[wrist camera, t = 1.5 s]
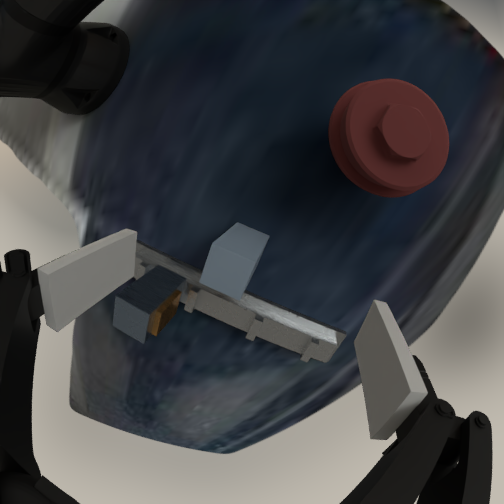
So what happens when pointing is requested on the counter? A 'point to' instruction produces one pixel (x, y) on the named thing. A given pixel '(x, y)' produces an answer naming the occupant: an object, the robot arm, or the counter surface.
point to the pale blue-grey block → (233, 260)
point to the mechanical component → (388, 137)
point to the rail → (213, 308)
